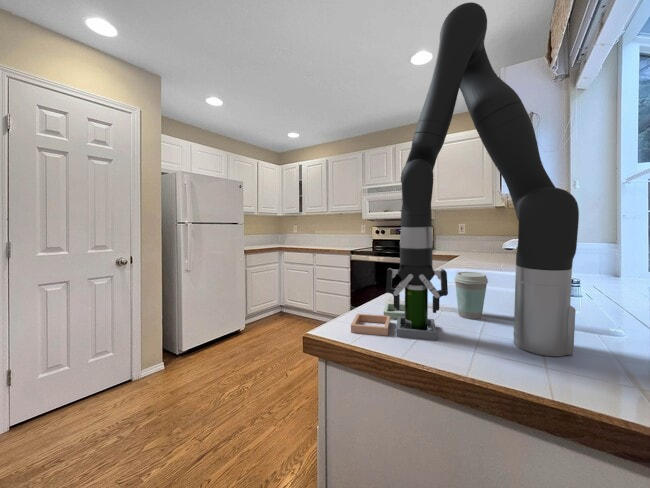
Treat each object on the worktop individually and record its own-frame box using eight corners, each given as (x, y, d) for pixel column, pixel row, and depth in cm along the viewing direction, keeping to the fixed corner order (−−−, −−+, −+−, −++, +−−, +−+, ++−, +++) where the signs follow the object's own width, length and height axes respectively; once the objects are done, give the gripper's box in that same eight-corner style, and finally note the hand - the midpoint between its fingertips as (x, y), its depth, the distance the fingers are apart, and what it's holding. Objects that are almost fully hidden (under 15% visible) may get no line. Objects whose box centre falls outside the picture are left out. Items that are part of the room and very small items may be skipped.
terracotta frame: (390, 322, 76) (390, 316, 76) (387, 335, 67) (387, 328, 67) (357, 319, 78) (357, 313, 78) (350, 332, 70) (350, 325, 70)
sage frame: (416, 310, 85) (416, 304, 85) (417, 320, 77) (417, 314, 76) (386, 308, 88) (386, 302, 88) (383, 318, 79) (383, 311, 79)
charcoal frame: (433, 325, 73) (433, 319, 72) (436, 340, 64) (436, 332, 64) (397, 323, 75) (397, 316, 75) (396, 336, 67) (396, 329, 66)
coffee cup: (456, 309, 86) (457, 270, 85) (488, 314, 81) (489, 273, 80) (450, 317, 79) (451, 275, 78) (485, 323, 74) (486, 278, 73)
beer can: (417, 337, 66) (417, 287, 65) (400, 330, 70) (400, 283, 69) (432, 331, 69) (432, 283, 68) (414, 325, 73) (414, 280, 72)
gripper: (445, 244, 69) (445, 308, 71) (387, 244, 74) (387, 304, 75) (450, 247, 62) (449, 318, 64) (384, 247, 66) (385, 313, 68)
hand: (415, 310), depth 69 cm, fingers open, 8 cm apart
